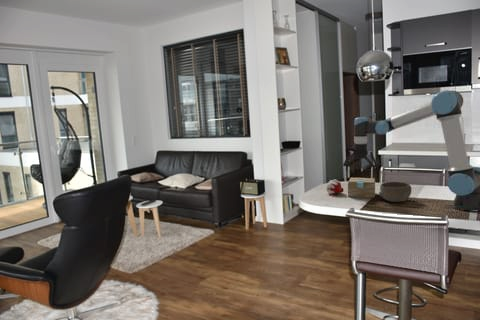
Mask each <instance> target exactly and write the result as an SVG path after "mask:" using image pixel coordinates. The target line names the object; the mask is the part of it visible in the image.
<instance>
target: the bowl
mask: <svg viewBox="0 0 480 320" xmlns="http://www.w3.org/2000/svg"><path fill="white" fill-rule="evenodd" d="M412 189H413V188H412V187H411V185H410V183H408V182H402V181H401V182H400V181H389V182H387V181H386V182H382V183H380V187H379V192H378V194H379V196H380V197H382V198H383V200H385V201H386V202H390V203H402V202H405V201H407V200H408V199H409V198H410V196H411V195H412Z"/></svg>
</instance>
